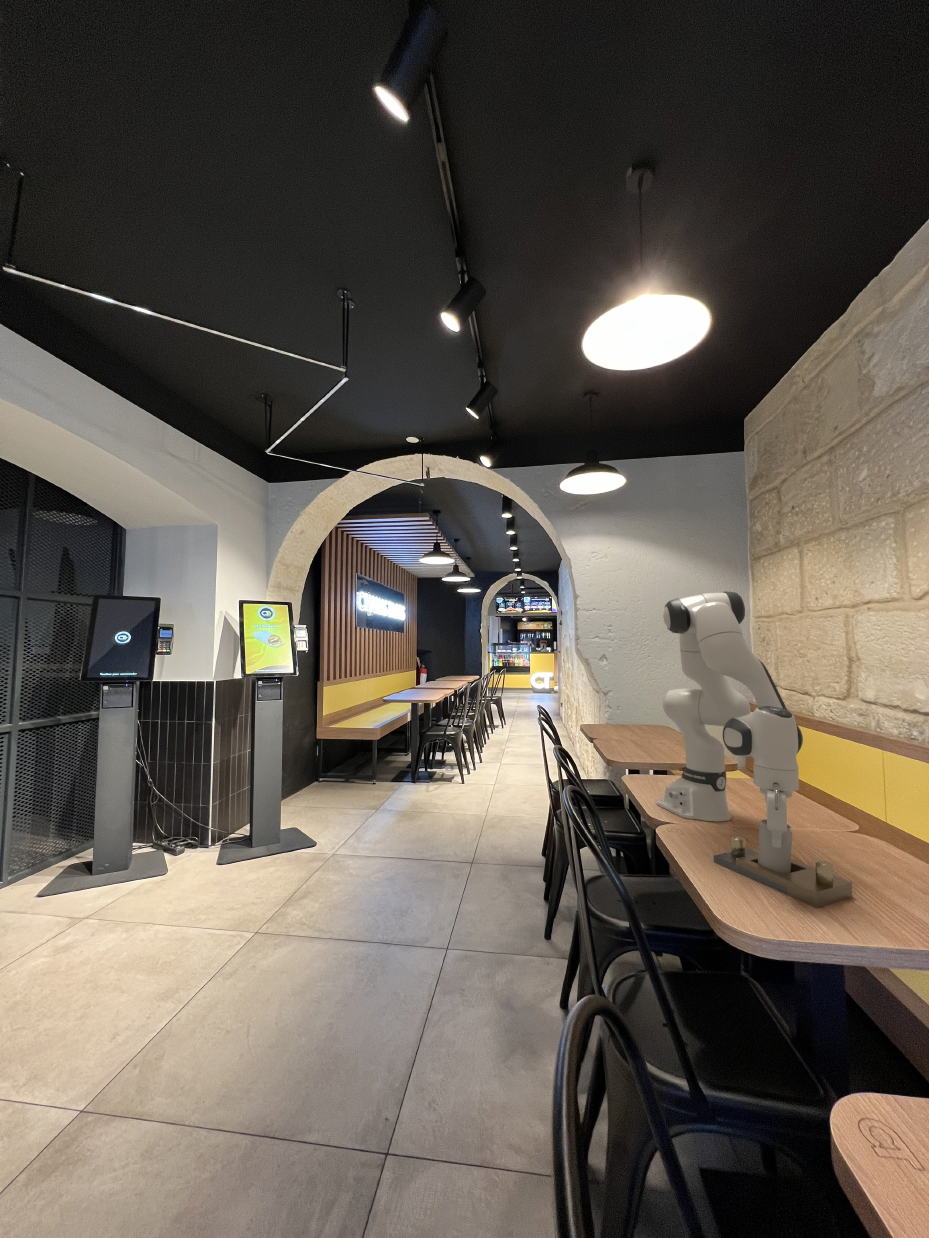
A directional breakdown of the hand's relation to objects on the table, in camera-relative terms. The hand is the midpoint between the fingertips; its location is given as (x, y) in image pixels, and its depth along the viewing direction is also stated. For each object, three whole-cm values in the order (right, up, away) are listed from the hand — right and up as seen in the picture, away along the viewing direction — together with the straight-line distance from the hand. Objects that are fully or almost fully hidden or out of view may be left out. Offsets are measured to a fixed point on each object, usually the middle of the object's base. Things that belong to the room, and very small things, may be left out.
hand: (776, 841), depth 117 cm
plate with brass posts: (0, -8, 0) cm, 8 cm away
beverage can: (-1, -8, 0) cm, 8 cm away
